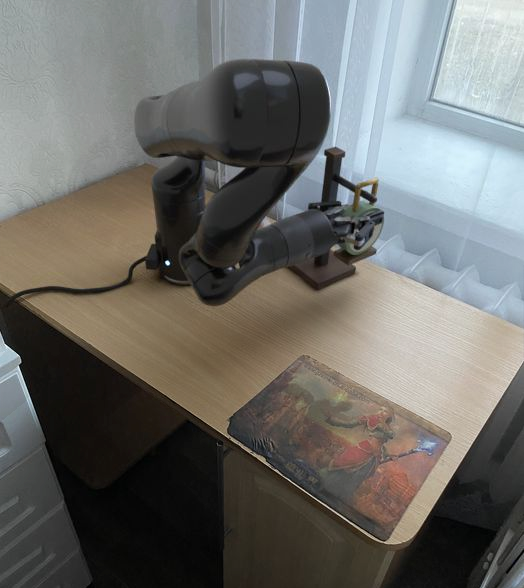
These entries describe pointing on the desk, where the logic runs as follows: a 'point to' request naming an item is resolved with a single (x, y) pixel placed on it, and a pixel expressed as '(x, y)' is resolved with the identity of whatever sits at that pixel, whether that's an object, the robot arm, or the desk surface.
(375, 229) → the clock
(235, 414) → the desk surface
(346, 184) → the rack
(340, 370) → the desk surface
